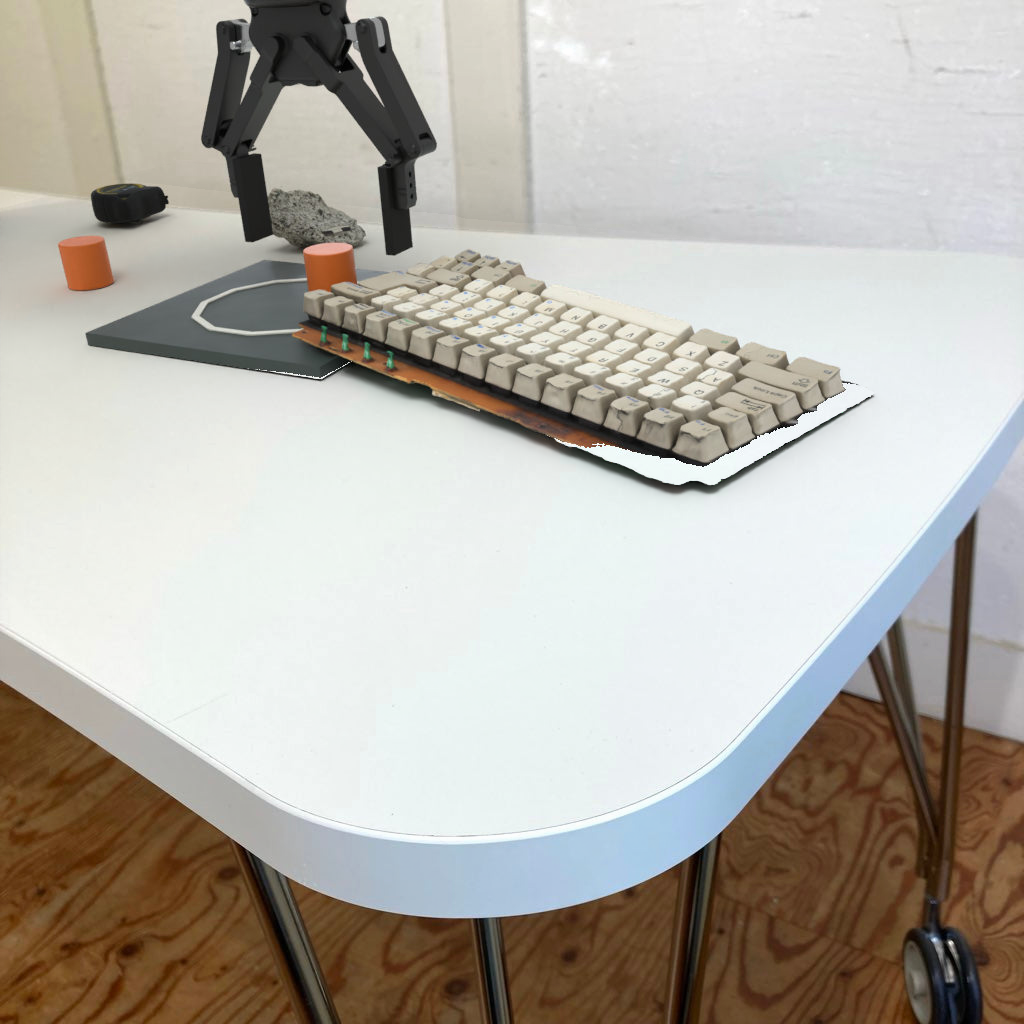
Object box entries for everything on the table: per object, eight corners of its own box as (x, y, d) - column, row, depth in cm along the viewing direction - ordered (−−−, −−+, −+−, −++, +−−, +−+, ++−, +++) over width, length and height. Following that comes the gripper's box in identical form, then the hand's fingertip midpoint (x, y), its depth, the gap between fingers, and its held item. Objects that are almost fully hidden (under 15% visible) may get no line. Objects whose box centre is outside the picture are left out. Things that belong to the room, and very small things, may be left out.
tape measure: (130, 231, 116) (123, 196, 114) (83, 227, 119) (75, 192, 117) (172, 216, 122) (165, 183, 120) (126, 213, 124) (119, 180, 122)
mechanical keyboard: (875, 395, 67) (882, 343, 65) (696, 505, 55) (700, 445, 53) (461, 281, 90) (459, 241, 88) (273, 341, 78) (267, 296, 76)
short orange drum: (299, 301, 86) (292, 252, 84) (328, 288, 89) (322, 240, 88) (340, 306, 85) (334, 256, 83) (368, 292, 88) (362, 244, 86)
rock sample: (338, 219, 99) (294, 149, 101) (283, 272, 102) (242, 203, 104) (397, 243, 108) (356, 177, 110) (346, 290, 111) (307, 226, 113)
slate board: (87, 345, 82) (84, 331, 82) (265, 270, 99) (263, 258, 99) (321, 380, 73) (319, 365, 73) (472, 291, 90) (471, 278, 90)
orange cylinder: (58, 288, 97) (47, 244, 95) (91, 276, 100) (81, 234, 98) (90, 292, 95) (80, 247, 93) (123, 280, 98) (113, 237, 96)
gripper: (470, -66, 73) (486, 244, 83) (189, -51, 83) (234, 223, 93) (413, -63, 67) (438, 269, 77) (119, -48, 77) (175, 244, 87)
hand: (327, 245), depth 85 cm, fingers open, 13 cm apart
